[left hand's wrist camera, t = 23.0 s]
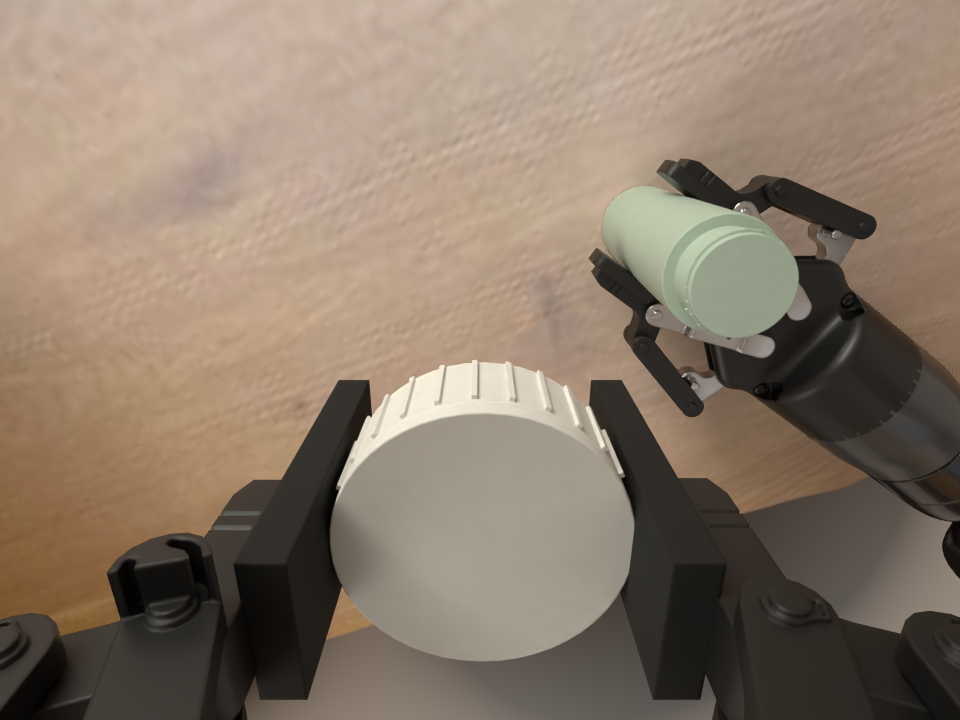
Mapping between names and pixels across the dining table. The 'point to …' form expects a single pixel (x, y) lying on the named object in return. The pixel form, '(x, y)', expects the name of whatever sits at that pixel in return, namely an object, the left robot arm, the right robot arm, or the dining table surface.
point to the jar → (702, 260)
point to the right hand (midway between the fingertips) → (629, 213)
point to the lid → (482, 515)
